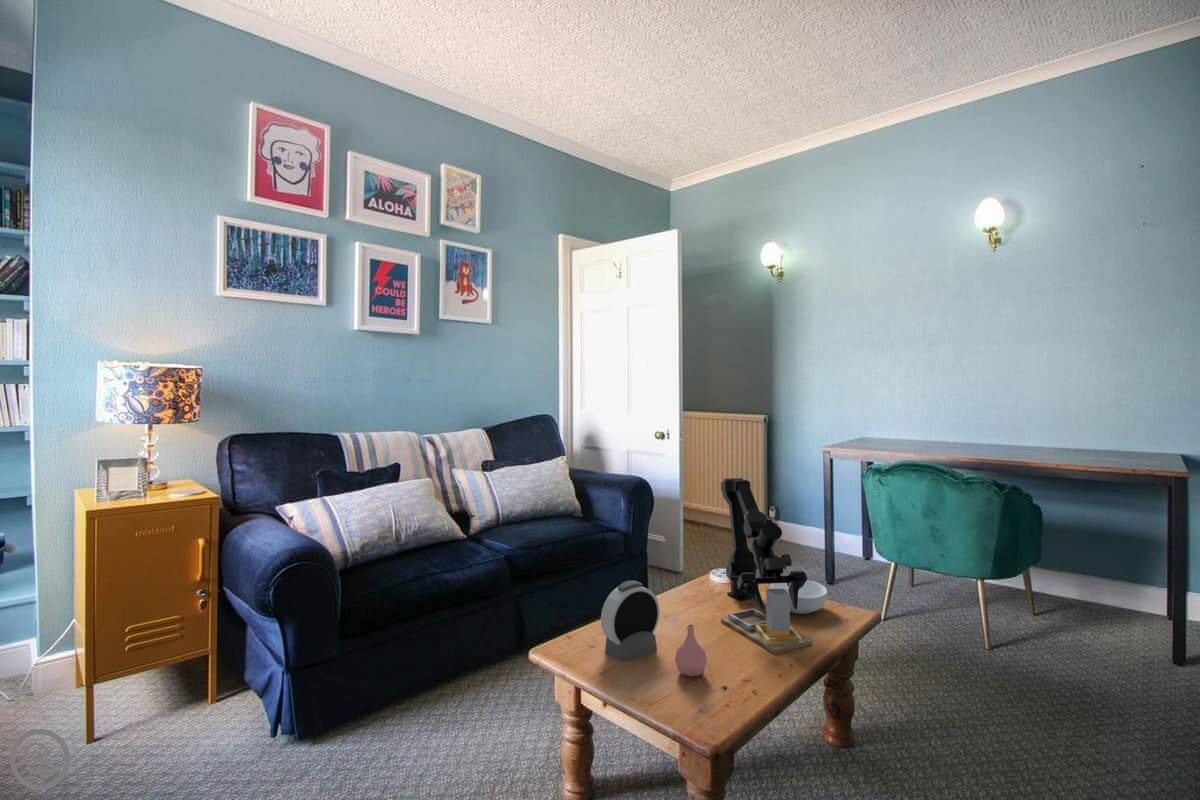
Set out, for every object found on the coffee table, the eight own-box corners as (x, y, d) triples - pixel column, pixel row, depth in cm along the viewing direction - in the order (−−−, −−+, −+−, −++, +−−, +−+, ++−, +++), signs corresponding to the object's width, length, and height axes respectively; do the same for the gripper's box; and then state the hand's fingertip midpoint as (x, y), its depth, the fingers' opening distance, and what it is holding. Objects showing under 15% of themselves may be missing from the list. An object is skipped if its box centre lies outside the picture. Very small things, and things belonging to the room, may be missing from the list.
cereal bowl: (759, 604, 187) (759, 582, 186) (798, 595, 194) (798, 574, 193) (798, 624, 171) (798, 600, 171) (839, 614, 178) (839, 591, 178)
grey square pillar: (766, 633, 163) (766, 589, 162) (783, 632, 163) (783, 588, 163) (771, 640, 158) (771, 595, 158) (789, 639, 159) (789, 594, 158)
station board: (720, 621, 173) (720, 613, 173) (755, 613, 179) (755, 605, 179) (775, 654, 152) (775, 645, 152) (812, 644, 158) (812, 635, 158)
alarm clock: (617, 665, 147) (616, 594, 147) (595, 650, 156) (594, 583, 155) (666, 649, 156) (666, 581, 156) (643, 635, 165) (642, 571, 164)
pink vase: (685, 663, 148) (685, 616, 148) (712, 672, 143) (712, 624, 143) (669, 675, 142) (668, 627, 142) (696, 685, 137) (696, 635, 137)
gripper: (740, 544, 163) (753, 598, 153) (804, 542, 165) (822, 595, 154) (731, 563, 171) (743, 615, 161) (793, 561, 173) (809, 613, 162)
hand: (779, 609), depth 159 cm, fingers open, 9 cm apart
